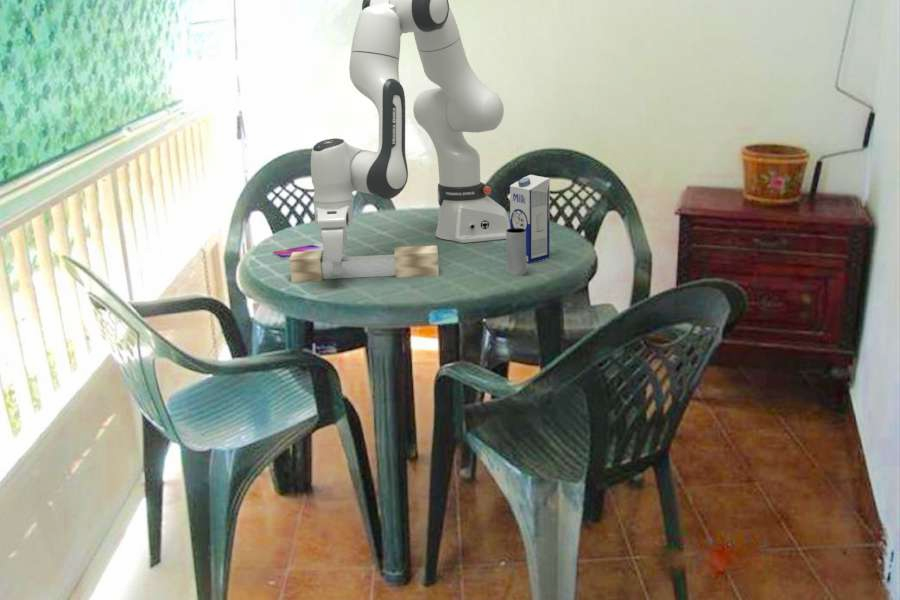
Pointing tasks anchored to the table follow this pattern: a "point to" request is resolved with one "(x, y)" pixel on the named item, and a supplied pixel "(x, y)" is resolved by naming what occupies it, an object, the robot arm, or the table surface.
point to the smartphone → (298, 250)
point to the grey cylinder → (516, 251)
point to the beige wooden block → (306, 266)
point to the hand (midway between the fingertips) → (338, 269)
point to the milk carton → (532, 214)
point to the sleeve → (416, 261)
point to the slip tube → (360, 267)
